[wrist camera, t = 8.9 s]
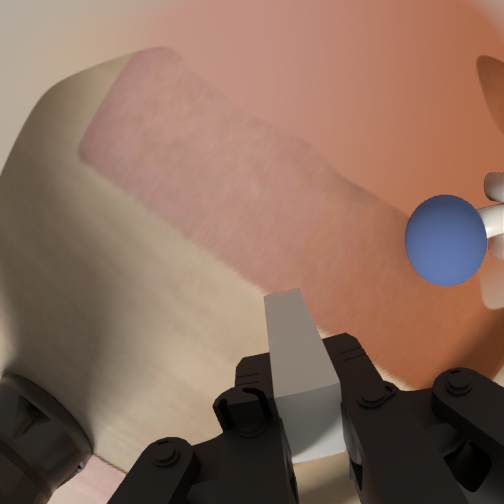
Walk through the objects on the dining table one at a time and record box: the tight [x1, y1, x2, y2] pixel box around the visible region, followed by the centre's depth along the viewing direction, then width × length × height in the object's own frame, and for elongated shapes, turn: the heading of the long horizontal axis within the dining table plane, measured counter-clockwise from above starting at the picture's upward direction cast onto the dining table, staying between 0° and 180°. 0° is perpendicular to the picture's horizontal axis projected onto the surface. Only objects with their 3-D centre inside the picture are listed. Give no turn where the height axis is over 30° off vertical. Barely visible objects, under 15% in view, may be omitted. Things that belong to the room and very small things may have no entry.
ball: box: [405, 195, 487, 286], centre depth 17 cm, size 6×6×6 cm
